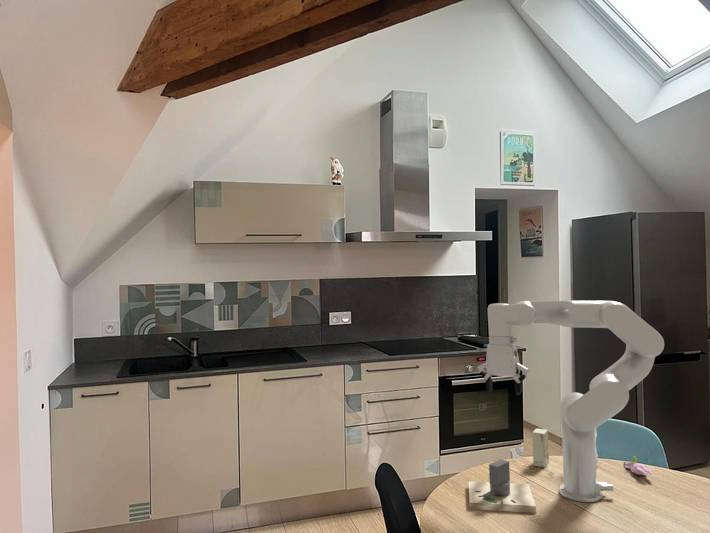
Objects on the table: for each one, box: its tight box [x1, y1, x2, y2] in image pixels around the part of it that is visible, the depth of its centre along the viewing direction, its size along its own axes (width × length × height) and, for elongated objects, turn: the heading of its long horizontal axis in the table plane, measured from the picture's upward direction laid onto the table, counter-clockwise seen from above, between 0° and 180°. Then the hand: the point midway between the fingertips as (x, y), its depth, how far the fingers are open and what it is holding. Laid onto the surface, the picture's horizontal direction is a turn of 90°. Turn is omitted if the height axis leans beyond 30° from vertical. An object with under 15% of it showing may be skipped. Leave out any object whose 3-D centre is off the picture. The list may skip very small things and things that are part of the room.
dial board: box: [468, 480, 537, 514], centre depth 161 cm, size 19×16×2 cm
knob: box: [483, 458, 511, 499], centre depth 160 cm, size 11×6×9 cm, turn 130°
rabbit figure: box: [623, 455, 653, 476], centre depth 178 cm, size 6×6×15 cm
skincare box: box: [531, 428, 550, 468], centre depth 190 cm, size 6×4×12 cm
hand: (503, 393), depth 170 cm, fingers open, 9 cm apart
